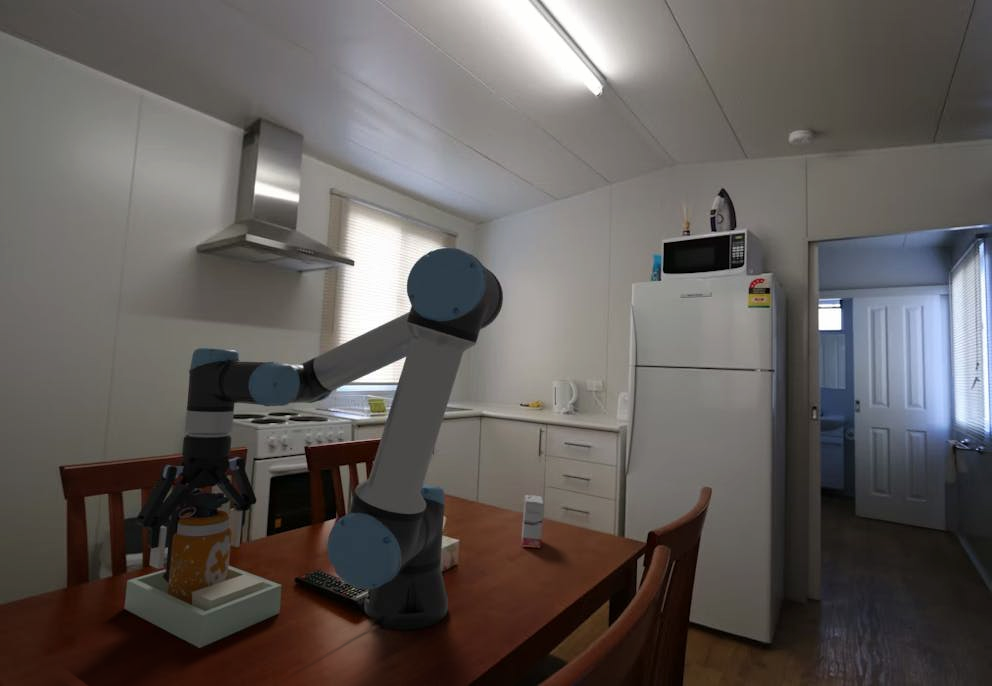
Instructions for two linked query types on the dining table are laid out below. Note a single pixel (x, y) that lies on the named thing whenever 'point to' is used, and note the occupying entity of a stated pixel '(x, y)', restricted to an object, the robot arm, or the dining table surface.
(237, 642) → the dining table surface
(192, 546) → the canister
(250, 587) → the white plastic bar
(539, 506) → the ink box
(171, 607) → the crate
